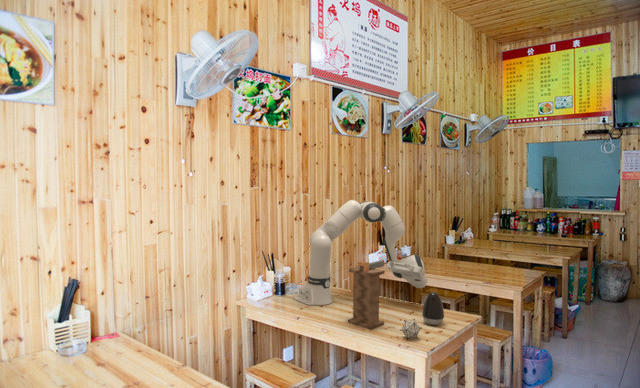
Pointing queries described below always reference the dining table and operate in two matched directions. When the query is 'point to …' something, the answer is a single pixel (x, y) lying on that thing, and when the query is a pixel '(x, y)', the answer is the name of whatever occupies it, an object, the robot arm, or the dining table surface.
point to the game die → (411, 329)
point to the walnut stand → (366, 298)
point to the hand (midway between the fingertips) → (398, 263)
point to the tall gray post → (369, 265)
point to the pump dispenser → (433, 309)
